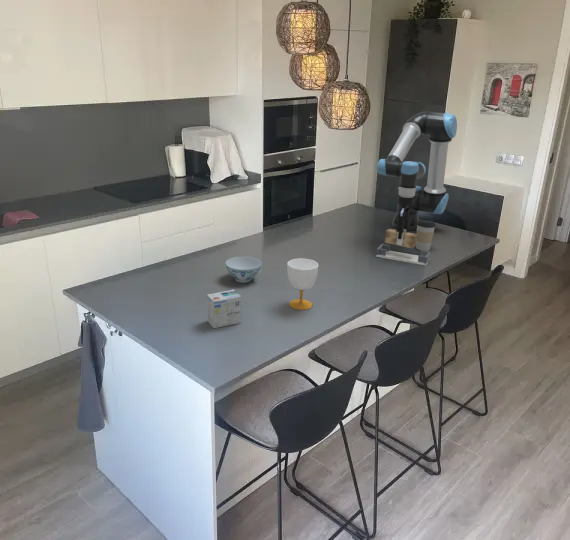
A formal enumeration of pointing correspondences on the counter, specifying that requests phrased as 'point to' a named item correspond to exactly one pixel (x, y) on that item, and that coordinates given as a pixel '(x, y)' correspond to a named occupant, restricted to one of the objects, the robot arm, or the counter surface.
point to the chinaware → (243, 268)
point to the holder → (403, 255)
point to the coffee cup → (424, 234)
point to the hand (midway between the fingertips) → (400, 243)
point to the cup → (301, 279)
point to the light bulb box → (224, 308)
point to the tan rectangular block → (408, 238)
